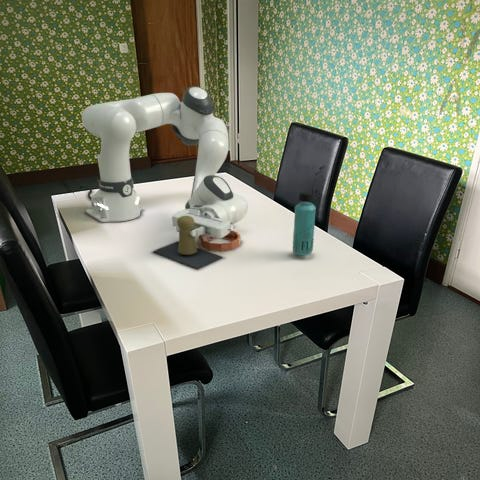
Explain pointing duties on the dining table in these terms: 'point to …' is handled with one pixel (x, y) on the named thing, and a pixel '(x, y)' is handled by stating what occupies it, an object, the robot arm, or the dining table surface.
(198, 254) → the mat
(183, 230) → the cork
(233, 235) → the orange ring
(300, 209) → the beverage bottle
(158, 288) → the dining table surface
